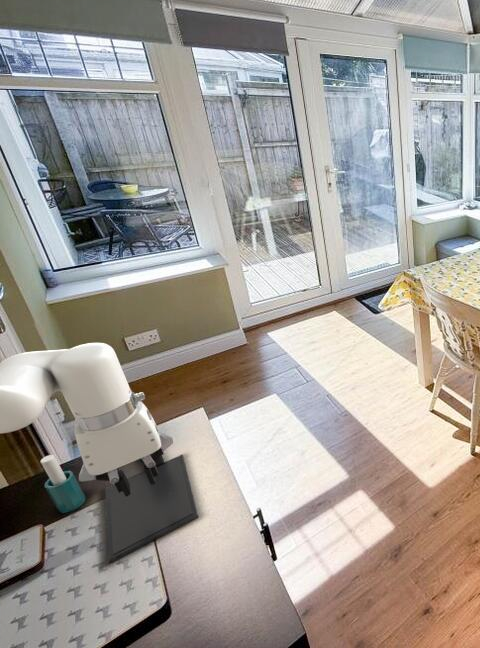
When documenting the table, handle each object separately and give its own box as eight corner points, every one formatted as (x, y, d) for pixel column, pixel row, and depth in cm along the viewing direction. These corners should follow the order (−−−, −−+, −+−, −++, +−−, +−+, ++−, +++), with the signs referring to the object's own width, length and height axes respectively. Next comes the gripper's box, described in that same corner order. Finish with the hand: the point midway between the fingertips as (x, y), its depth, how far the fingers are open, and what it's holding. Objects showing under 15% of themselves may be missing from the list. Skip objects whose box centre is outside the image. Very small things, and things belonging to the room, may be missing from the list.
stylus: (65, 508, 81) (39, 464, 76) (65, 501, 82) (40, 458, 77) (78, 502, 82) (53, 459, 77) (78, 496, 83) (54, 453, 78)
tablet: (109, 563, 73) (107, 560, 72) (106, 491, 85) (104, 487, 85) (198, 517, 81) (197, 513, 80) (183, 457, 93) (182, 454, 93)
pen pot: (58, 516, 80) (43, 491, 77) (59, 503, 82) (45, 478, 80) (85, 504, 82) (72, 480, 79) (85, 492, 85) (72, 467, 82)
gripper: (163, 380, 79) (189, 450, 86) (40, 421, 69) (81, 497, 76) (168, 401, 74) (195, 474, 81) (36, 448, 64) (80, 527, 71)
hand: (140, 484), depth 79 cm, fingers open, 3 cm apart
